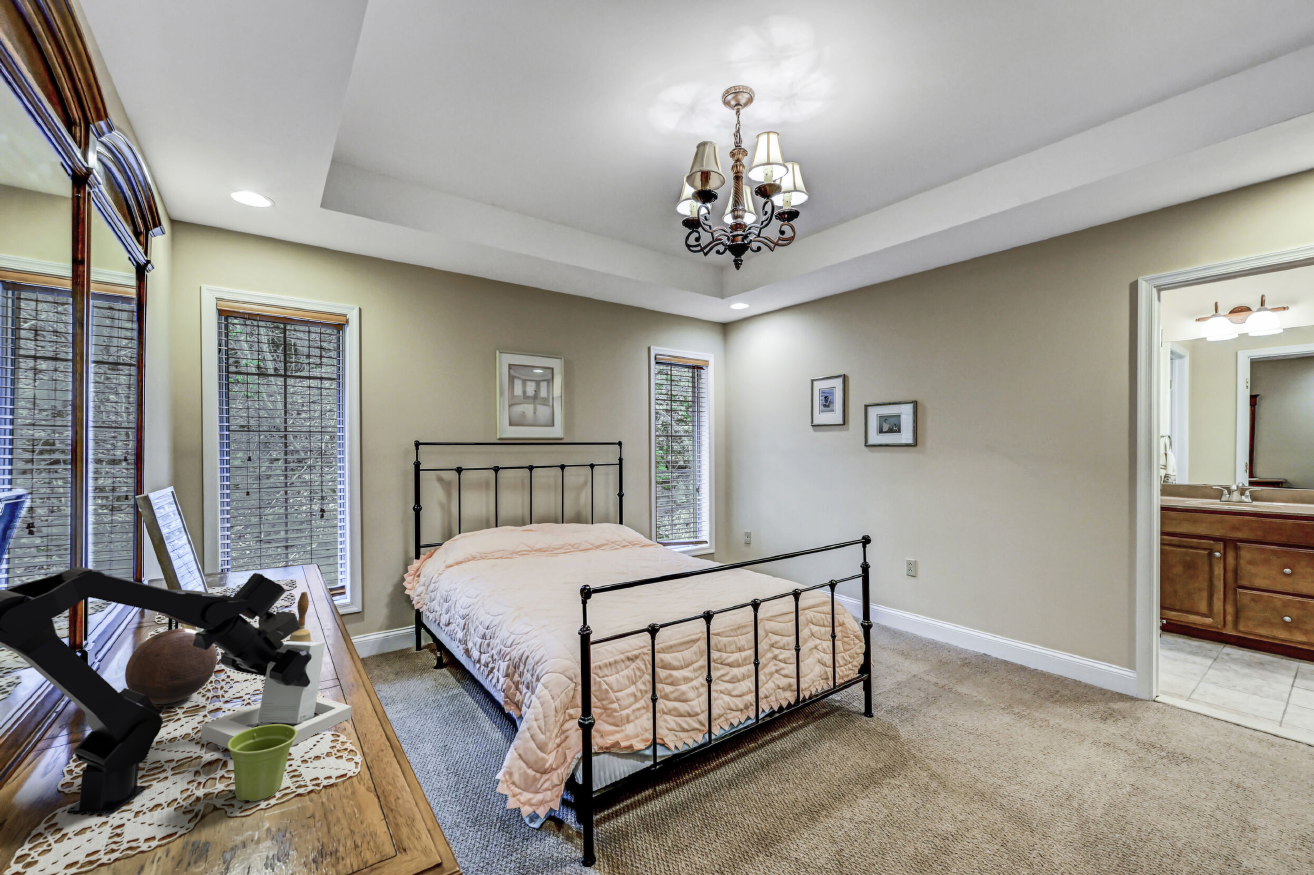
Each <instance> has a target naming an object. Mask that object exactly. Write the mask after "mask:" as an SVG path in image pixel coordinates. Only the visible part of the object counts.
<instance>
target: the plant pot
mask: <svg viewBox="0 0 1314 875" xmlns="http://www.w3.org/2000/svg"><path fill="white" fill-rule="evenodd" d="M296 736H297V730H296V729H295V728H294V726H292V725H288V724H282V723H277V724H276V723H274V724H266V725H264V724H263V725H259V726H255V727H251V729H248V730H245V731H243V732H241V733H239V734H237V735H235V736H234V737H233V738H231V739H230V741H229V742H228V748H227V749H228V751H229V752H230V756H231V758H232V764H233V776H234V791H235V798H236V799H237V800H238V801H241V802H243V801H250V802H256V801H261V800H263V799H266V798H269V797H271V796H273V795H275V794H276V792H277V791H278V790H279V789H281V787H282V783H283V780H284V775H285V770H286V765H287V762H288V757H289V754H290V750H291V747H293V746H292V743H293V740H294V739H295V738H296Z"/></svg>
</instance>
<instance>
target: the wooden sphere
mask: <svg viewBox="0 0 1314 875" xmlns="http://www.w3.org/2000/svg"><path fill="white" fill-rule="evenodd" d="M196 632H199V631H198V630H195V629H191V628H190V629H189V628H174V629H168V630H163V631H162V632H159V633H156V634H154V635H153V636H150V637H149V638H148V639H146V640H145V641H144V642H142V643H141V644H140V645H139V646H138V647H136V649H135V650H134V652H132V654H131V656H130V657H129V659H128V661H127V664H126V667H125V672H124V679H125V683H126V684H125V685H126V686H127V689H130V690H132V691H135V692H138V693H141V694H144V695H147V697H148V698H149V699H150V700H151V702H152V704H153V705H154V704H155V705H166V704H172V703H177V702H180V701H183V700H185V699H186V698H189V697H191V696H193V694H195V693H197V692H198V691H200V689H202V688H203V687H204V686H205V685H206V684H207V683H208V681H209V680H210V679H211V677H212V675H213V674H214V672H215V669H216V666H217V663H218V662H217V661H218V654H217V653H218V652H217V648H216V645H215V644H214V643H213V644H212V646H211V647H210V648H209V649H208V650H204V649H200V648H196V647H193V642H194V639H195V633H196Z"/></svg>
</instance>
